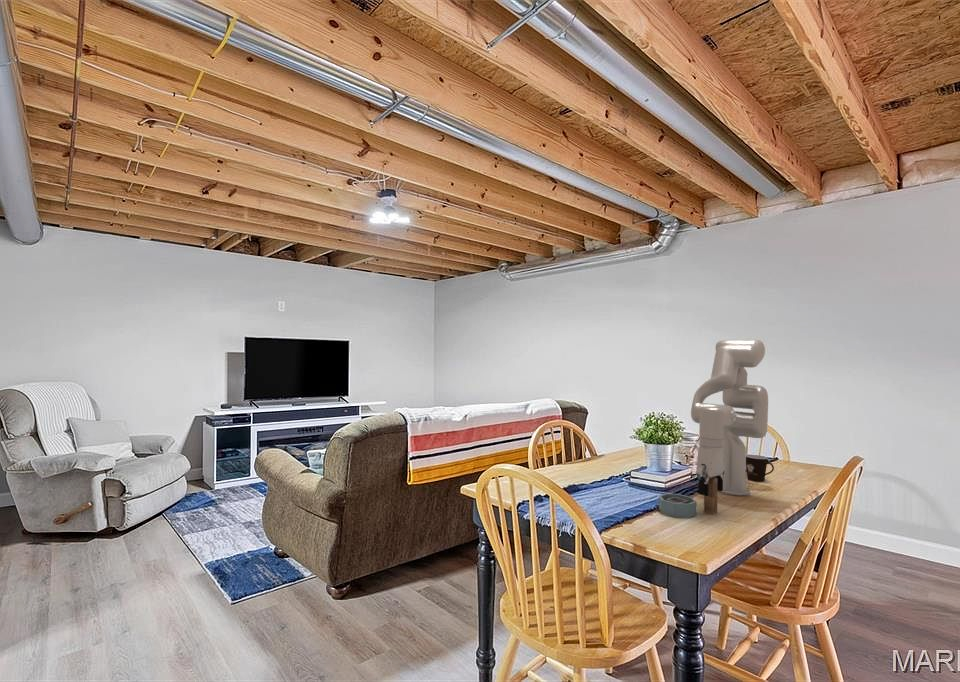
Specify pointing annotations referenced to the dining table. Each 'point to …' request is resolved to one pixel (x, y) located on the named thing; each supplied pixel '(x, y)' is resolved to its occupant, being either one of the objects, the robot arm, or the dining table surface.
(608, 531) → the dining table surface
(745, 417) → the robot arm
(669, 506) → the octagonal socket dish
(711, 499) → the wood grain block
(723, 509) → the dining table surface
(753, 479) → the coffee mug
